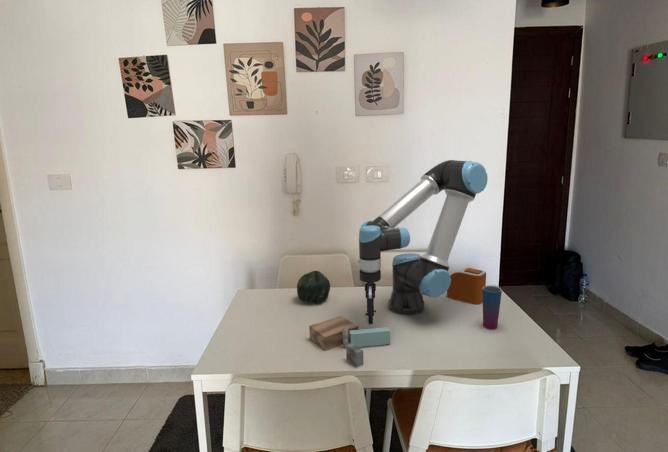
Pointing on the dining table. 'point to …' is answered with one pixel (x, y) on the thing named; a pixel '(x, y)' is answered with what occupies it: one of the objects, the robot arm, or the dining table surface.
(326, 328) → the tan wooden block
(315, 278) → the squash
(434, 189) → the robot arm
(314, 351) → the dining table surface
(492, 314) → the cup
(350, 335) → the teal block
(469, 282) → the brown toaster
